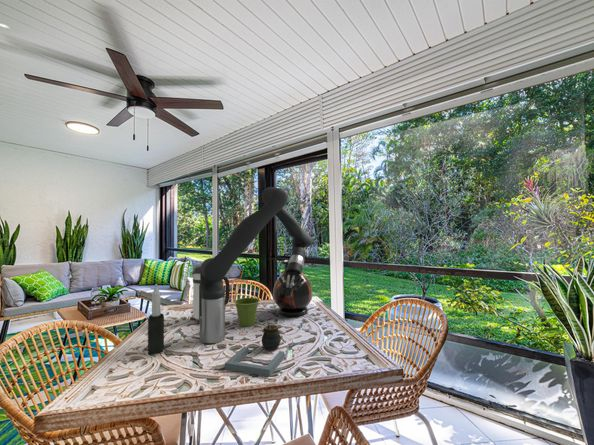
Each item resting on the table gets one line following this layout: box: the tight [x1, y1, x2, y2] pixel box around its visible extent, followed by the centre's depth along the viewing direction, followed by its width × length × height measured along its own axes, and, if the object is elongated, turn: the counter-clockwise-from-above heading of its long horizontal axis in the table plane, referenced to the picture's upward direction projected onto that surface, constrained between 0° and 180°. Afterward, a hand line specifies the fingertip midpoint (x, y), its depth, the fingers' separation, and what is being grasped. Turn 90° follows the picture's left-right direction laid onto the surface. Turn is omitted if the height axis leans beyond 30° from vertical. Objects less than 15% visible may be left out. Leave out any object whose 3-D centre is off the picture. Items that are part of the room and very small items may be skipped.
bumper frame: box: [224, 346, 286, 377], centre depth 95 cm, size 16×13×2 cm
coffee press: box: [189, 259, 230, 325], centre depth 142 cm, size 17×16×30 cm
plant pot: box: [234, 297, 260, 328], centre depth 133 cm, size 12×12×11 cm
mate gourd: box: [261, 318, 282, 351], centre depth 107 cm, size 7×8×10 cm
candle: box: [147, 283, 165, 356], centre depth 105 cm, size 5×5×25 cm
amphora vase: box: [272, 259, 313, 317], centre depth 152 cm, size 22×22×28 cm
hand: (287, 296), depth 126 cm, fingers closed
